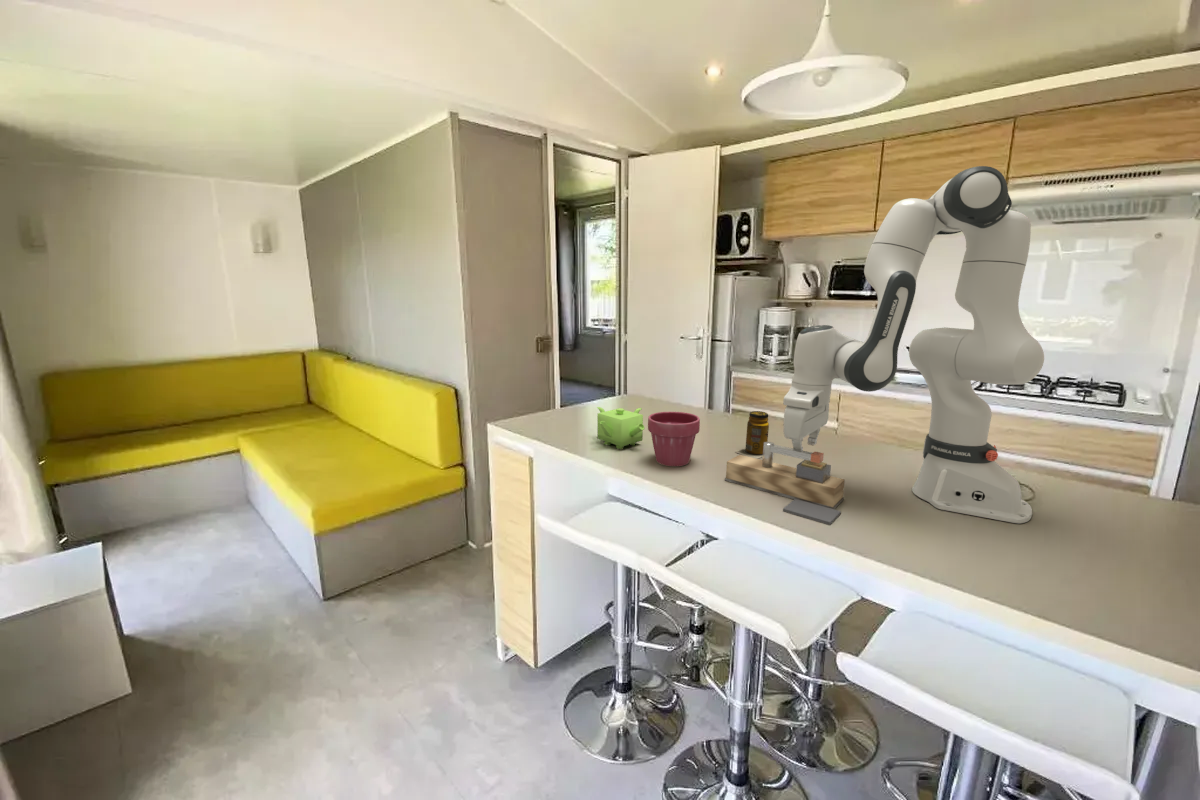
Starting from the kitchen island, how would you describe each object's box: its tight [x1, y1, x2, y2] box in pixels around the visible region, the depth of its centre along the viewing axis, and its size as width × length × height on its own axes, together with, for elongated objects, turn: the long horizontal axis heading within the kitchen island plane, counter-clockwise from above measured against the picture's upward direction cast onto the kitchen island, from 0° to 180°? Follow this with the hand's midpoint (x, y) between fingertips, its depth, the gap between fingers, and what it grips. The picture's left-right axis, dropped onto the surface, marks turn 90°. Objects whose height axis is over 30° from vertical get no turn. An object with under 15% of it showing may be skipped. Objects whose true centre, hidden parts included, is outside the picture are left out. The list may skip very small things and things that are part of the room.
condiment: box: [735, 410, 770, 459], centre depth 151 cm, size 7×8×12 cm
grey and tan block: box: [796, 459, 832, 484], centre depth 119 cm, size 6×5×4 cm
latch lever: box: [761, 441, 825, 468], centre depth 123 cm, size 14×2×6 cm, turn 49°
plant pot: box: [647, 411, 701, 467], centre depth 143 cm, size 14×14×13 cm
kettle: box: [596, 406, 645, 450], centre depth 159 cm, size 15×14×11 cm
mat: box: [782, 499, 842, 526], centre depth 113 cm, size 10×7×1 cm
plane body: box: [724, 454, 845, 510], centre depth 125 cm, size 26×7×5 cm, turn 49°
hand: (804, 449), depth 127 cm, fingers open, 8 cm apart
